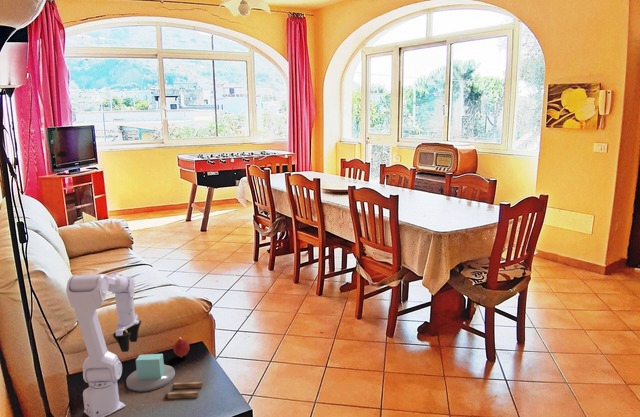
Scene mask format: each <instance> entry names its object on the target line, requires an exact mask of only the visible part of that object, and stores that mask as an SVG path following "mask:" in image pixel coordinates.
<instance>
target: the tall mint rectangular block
mask: <svg viewBox="0 0 640 417" xmlns="http://www.w3.org/2000/svg"><path fill="white" fill-rule="evenodd" d="M164 365H165V363H164V354H163V353H151V354H150V353H149V354H139V355H138V357H137V358H136V359H135V366H136V367H135V368H136V370H137V378H138V379H154V378H161V377H162V376H163V374H164V372H165V371H164Z"/></svg>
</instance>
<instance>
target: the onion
mask: <svg viewBox="0 0 640 417" xmlns="http://www.w3.org/2000/svg"><path fill="white" fill-rule="evenodd" d="M189 352H190V343H189V342H188V341H187V340H186V339H184V338H182V337H180V336H179V337H178V339H177V341H176V342H175V343H174V344H173V353H174V354H175V355H176V356H177V357H180V358H184V357H185V356H186V355H188V354H189ZM183 356H184V357H183Z"/></svg>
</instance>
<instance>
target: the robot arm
mask: <svg viewBox="0 0 640 417" xmlns="http://www.w3.org/2000/svg"><path fill="white" fill-rule="evenodd" d="M135 285H136V283H135V279H134V278H133V277H132V276H123V274H118V272H111V273H110V274H106V273H95V274H94V273H93V274H91V273H90V274H82V275H81V274H79V275H71V276H70V277H69V279H68V280H67V284H66V289H65V292H66V295H67V299H68V303H69V305H70V307H71V308H72V309H73V310H74V312H75V313H74V314H75V317H76V319H77V323H78V327H79V329H80V332H81V335H82V338H83V342H84V344H85V348H86V352H87V354H88V356H87V357H86V358H85V359H84V361H83V364H82V366H81V367H82V377H83V380H84V382H85V383H87V384H88V387H87V388H85V389H83V392H82V398H83V399H82V400H83V406H84V410H83V414H86V415H87V416H88V417H107V416H109V415H111V414H113V413H115V412H117V411H119V410H121V409H123V408H125V407H126V404H125V403H124V402H122V401H120V395H119V394H120V393H119V387H118V386H119V385H118V380H120V378H121V376H122V373H123V364H122V362H121V361H120V359H119V357H118V355H117V354H115V353H113V352H111V351H109V350H108V347H107V344H106V340H105V337H104V333H103V331H102V330H103V329H102V326H101V323H100V319H99V316H98V313H97V310H98V309H99V308H101V307H102V306H103V304H104V302H105V299H106V297H107V293H108V292H110V293H112V295H114V299H115V308H116V315H117V316H116V319H117V326H116V329H115V331H114V333H113V334H112V337H113V339H115V342H117V344H118V347H119V349H120V351H121V352H122V353H126V352H127V353H128V352H129V351H130V343H137V342H138V338H139V337H138V335H139V331H140V326H141V325H142V320H139V318H138V317H139V316H138V313H136V311H135V301H134V300H135V299H134V296H135V287H136V286H135Z"/></svg>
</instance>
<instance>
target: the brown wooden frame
mask: <svg viewBox="0 0 640 417" xmlns="http://www.w3.org/2000/svg"><path fill="white" fill-rule="evenodd" d="M170 383H171V382H170ZM203 387H204V382H203V381H191V382H189V381H188V382H172V383H171V384H170V385H169V387H168V388H167V391H166V393H165V394H164V395H165V399H168V400H169V399H183V398H184V399H188V398H199V396H200V395H199V394H200V393H199V390H198V391H197V390H196V391H195V390H194V391H173V390H175V389H198V388H199V389H200V388H203Z"/></svg>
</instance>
